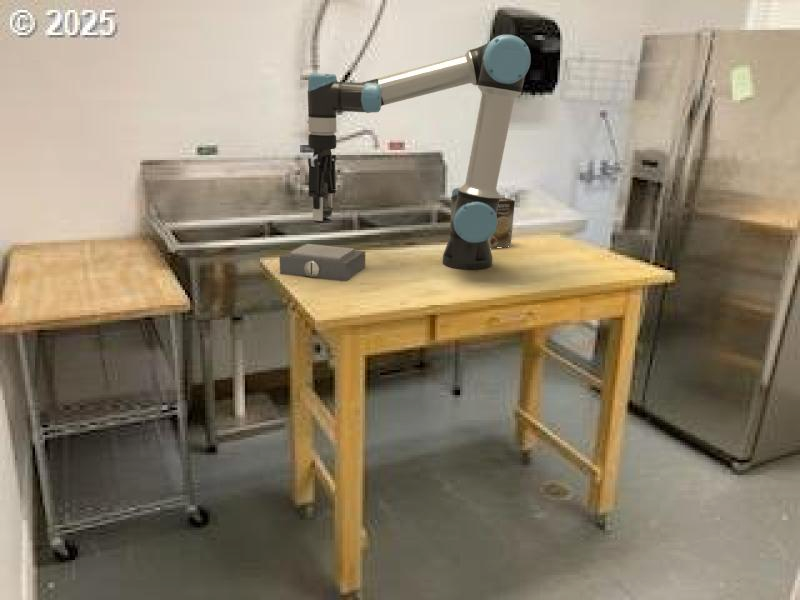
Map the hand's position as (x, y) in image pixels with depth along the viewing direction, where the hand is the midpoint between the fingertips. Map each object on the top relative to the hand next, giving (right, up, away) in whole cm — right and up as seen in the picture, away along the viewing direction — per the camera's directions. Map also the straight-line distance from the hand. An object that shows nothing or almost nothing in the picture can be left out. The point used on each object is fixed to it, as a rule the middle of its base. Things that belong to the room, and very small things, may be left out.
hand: (322, 218), depth 188 cm
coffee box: (+54, -5, +39) cm, 67 cm away
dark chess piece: (0, -1, 0) cm, 1 cm away
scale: (0, -15, +5) cm, 15 cm away
